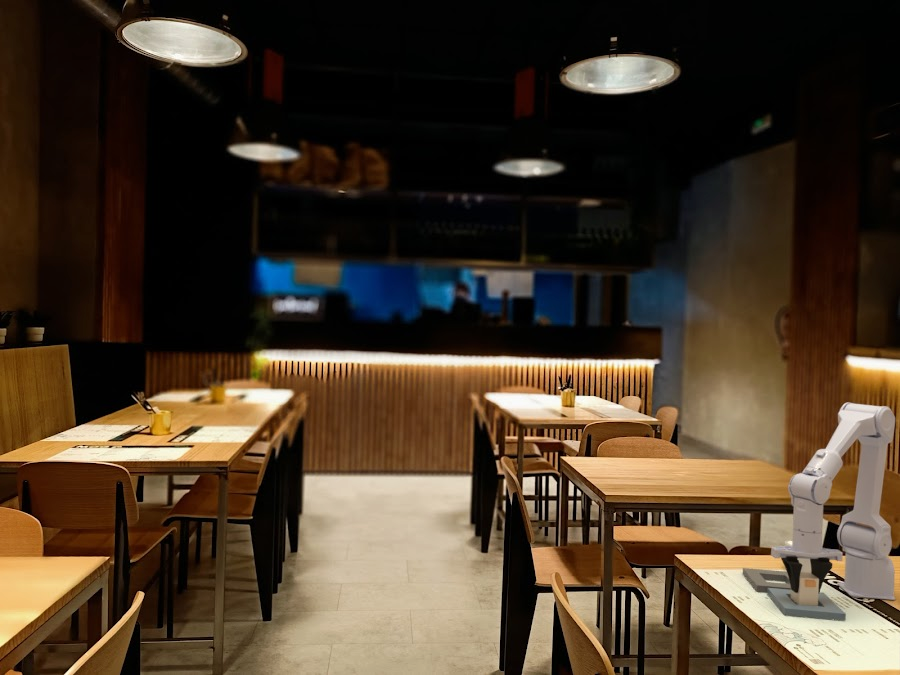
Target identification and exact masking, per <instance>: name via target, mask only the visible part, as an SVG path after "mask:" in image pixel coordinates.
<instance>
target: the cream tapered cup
mask: <svg viewBox="0 0 900 675" xmlns="http://www.w3.org/2000/svg"><path fill="white" fill-rule="evenodd" d="M792 540H793V539H792ZM792 540H791V539H788V540H784V546H792ZM797 560H799V563H801V564H802V568H801V572H810V573H811V574H812V572H811V562H810V559H803V558H798V559H797Z"/></svg>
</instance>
